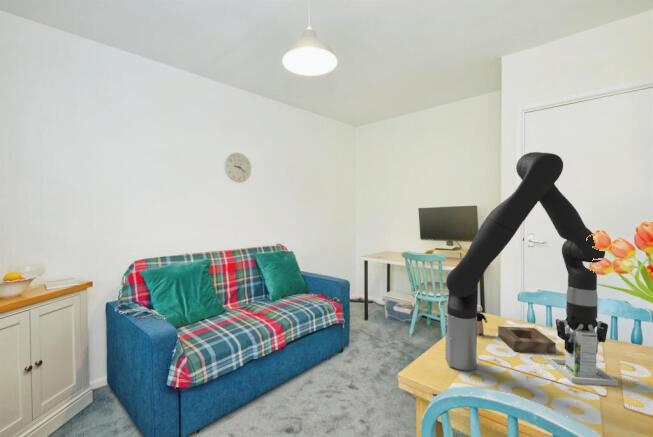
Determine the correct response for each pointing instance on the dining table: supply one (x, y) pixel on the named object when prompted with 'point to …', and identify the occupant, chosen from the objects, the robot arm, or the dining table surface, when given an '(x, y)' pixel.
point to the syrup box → (583, 355)
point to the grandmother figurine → (480, 321)
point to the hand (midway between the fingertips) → (580, 353)
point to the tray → (606, 381)
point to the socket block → (526, 340)
